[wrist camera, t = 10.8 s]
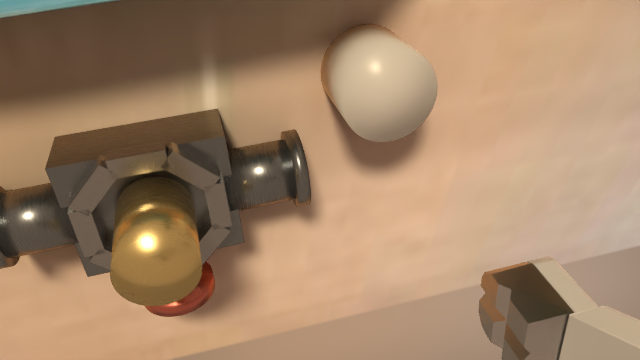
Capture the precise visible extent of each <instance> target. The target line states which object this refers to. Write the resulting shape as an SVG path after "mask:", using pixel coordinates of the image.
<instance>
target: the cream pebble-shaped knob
mask: <svg viewBox="0 0 640 360" xmlns="http://www.w3.org/2000/svg"><path fill="white" fill-rule="evenodd" d="M321 81H322V85H323V88H324V90H325V92H326V94H327V95H328V97H329V98H330V100H331V101H332V102H333V104H334V105H335V107H336V108H337V110H338V111H339V112H340V114H341V115H342V117H343V118H344V119H345V121H346V122H347V124H348V125H349V126H350V128H351V129H352V130H353V131H354V132H355V133H356V134H357V135H359V136H360V137H362V138H364V139H366V140H369V141H373V142H391V141H395V140H398V139H401V138H403V137H405V136H407V135H409V134H410V133H412V132H413V131H415V130H416V129H417V128H418V127H419V126H420V125H421V124H422V123H423V122H424V121H425V120H426V118H427V117H428V115H429V114H430V112H431V110H432V108H433V106H434V103H435V100H436V96H437V78H436V74H435V71H434V69H433V67H432V65H431V64H430V62H429V61H428V60H427V59H426V58H425V57H424V56H423V55H421V54H420V53H419V52H417V51H416V50H415V49H413V48H412V47H411V46H410V45H408V44H407V43H406V42H404V41H403V40H402V39H401V38H399V37H398V36H397V35H395V34H394V33H393V32H392V31H390V30H389V29H387V28H385V27H382V26H379V25H374V24H364V25H359V26H355V27H353V28H350V29H348V30H346V31H345V32H343V33H342V34H340V35H339V36H338V37H337V38H336V39H335V40H334V41H333V42H332V43H331V45H330V46H329V48H328V49H327V51H326V53H325V55H324V58H323V61H322V65H321Z"/></svg>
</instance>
